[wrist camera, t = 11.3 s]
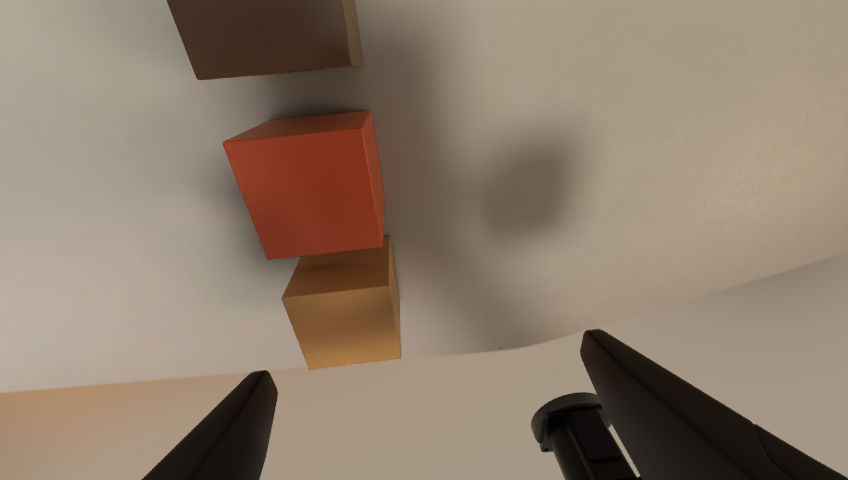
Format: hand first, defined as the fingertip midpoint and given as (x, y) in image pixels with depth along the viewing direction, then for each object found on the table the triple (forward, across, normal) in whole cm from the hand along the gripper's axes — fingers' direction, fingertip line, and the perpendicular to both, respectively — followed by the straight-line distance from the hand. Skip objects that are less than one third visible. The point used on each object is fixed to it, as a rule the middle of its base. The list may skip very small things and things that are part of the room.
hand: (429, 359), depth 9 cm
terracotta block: (+11, +4, -3) cm, 12 cm away
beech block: (+11, +4, +4) cm, 12 cm away
